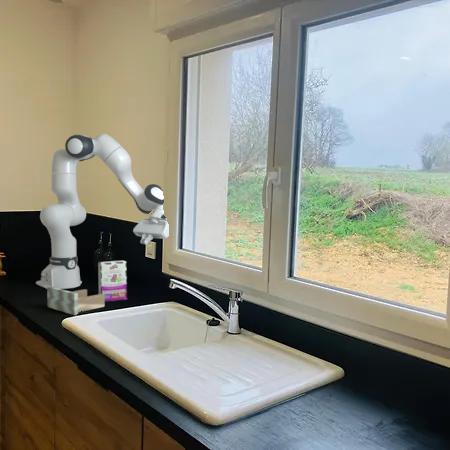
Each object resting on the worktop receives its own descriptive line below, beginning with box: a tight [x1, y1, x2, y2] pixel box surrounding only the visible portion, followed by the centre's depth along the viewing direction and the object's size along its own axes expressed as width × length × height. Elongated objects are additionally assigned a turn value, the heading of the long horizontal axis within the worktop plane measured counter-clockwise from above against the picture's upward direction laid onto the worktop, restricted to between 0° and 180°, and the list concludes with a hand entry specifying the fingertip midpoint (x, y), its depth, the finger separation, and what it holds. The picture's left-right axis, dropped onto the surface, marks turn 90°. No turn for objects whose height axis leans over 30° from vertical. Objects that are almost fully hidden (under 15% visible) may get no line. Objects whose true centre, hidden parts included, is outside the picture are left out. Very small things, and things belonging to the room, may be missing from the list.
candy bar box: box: [97, 260, 128, 303], centre depth 215 cm, size 11×5×16 cm, turn 117°
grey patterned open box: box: [46, 286, 106, 316], centre depth 202 cm, size 18×16×8 cm
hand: (143, 243), depth 226 cm, fingers closed
